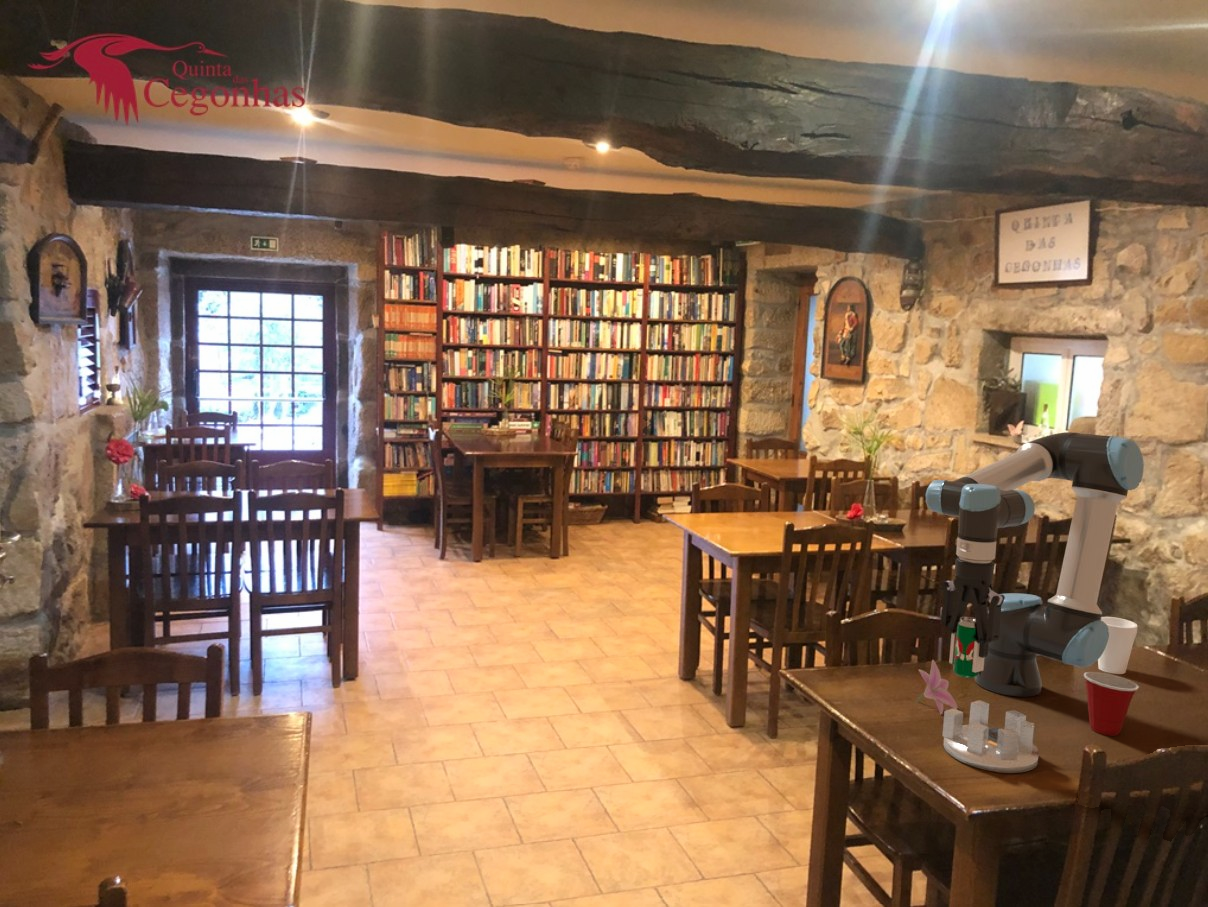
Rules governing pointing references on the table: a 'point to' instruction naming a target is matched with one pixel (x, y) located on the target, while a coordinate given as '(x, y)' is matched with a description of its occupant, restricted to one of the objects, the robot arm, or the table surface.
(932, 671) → the lily
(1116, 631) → the foam cup
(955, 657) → the soda can
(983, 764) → the round white pillared stand
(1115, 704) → the plastic cup
